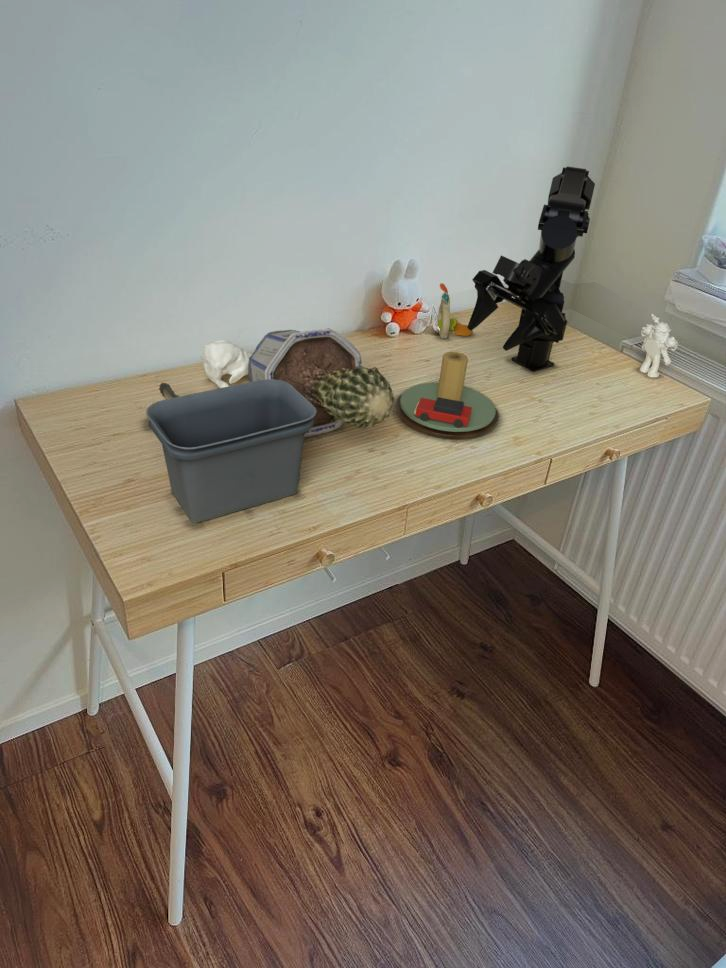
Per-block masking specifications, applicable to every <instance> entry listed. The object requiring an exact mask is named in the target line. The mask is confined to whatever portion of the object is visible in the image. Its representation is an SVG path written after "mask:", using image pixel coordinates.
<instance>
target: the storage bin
mask: <svg viewBox="0 0 726 968" xmlns="http://www.w3.org/2000/svg"><path fill="white" fill-rule="evenodd" d="M179 396H180V397H175V398H170V399H162V400H159V401H156V402H153V403H152V404H150V405H149V406H148V407H147V408H146V410H145V415H146V417H147V419H148V421H149V420H150V427H149V428H150V429H151V430H152V432H153V433H154V435H155V436H156V438H157V440H159V442H160V444H161V447H162V451H163V457H164V460H165V461H164V462H165V465H166V466H165V467H166V470H167V474H168V481H169V485H170V489H171V493H172V496H173V498H175V500H176V502H177V503H178V504H179V506H180V507H181V509H182V510H183V511H184V514H185V515H186V516H187V518H188V520H189V521H190V522H193V523H202V522H206V521H209V520H212V519H216V518H218V517H222V516H225V515H226V516H227V515H229V514H233V513H236V512H239V511H243V510H246V509H250V508H253V507H257V506H260V505H264V504H267V503H271V502H274V501H277V500H280V499H284V498H288V497H291V496H293V495H296V494H297V493H298V491H299V484H300V475H301V466H302V458H303V450H304V441H305V437H304V435H305V432H306V431H308V430H310V429H311V428H312V427H313V425H314V421H313V417H314V416H315V415H316V412H317V411H316V408H315V407H314V406H313V405H312V404H311V403H310V402H309V401H308V400H307V399H306V398H305V397H304V396H303V395H302V394H300V393H299V392H298V391H297V390H296V389H295V388H294V387H293V386H292V385H290V384H289V383H287V382H285V381H281V380H274V379H266V380H259V381H253V382H249V381H248V382H244V383H238V384H234V385H233V384H232V385H229V386H228V387H223V388H219V387H218V388H214V389H209V390H205V391H199V392H195V393H191V394H186V395H185V394H184V395H179Z"/></svg>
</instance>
